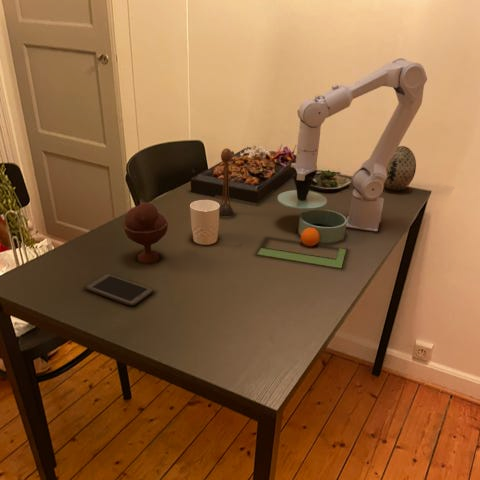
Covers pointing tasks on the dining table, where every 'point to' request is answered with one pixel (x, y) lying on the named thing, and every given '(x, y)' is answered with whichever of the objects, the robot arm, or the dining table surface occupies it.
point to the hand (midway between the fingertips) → (302, 197)
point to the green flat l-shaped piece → (305, 257)
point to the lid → (309, 203)
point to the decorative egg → (400, 169)
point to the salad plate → (328, 182)
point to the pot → (324, 218)
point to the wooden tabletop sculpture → (226, 183)
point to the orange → (310, 237)
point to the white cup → (205, 221)
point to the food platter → (248, 174)
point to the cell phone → (119, 289)
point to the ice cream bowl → (145, 229)
